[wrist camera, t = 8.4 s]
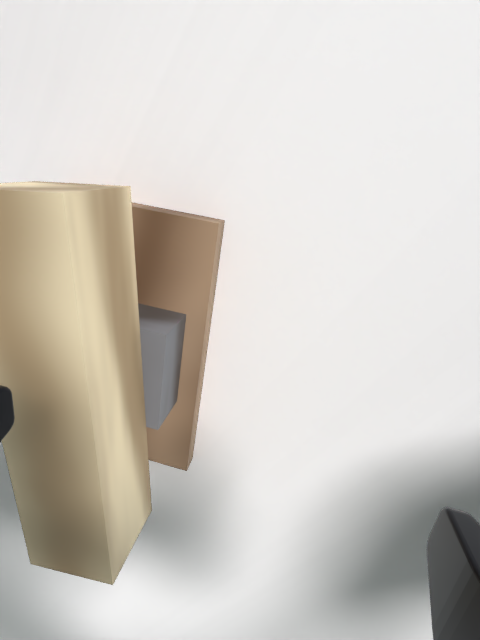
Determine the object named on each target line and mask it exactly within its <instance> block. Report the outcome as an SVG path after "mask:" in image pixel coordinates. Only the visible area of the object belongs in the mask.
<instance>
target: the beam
mask: <svg viewBox="0 0 480 640" xmlns="http://www.w3.org/2000/svg"><path fill="white" fill-rule="evenodd" d="M0 385H2V386H6V387H8V388H10V390H11V392H12V397H13V406H14V415H15V420H14V424H13V426H12V428H11V429H10V431H9V432H8V433H7V435H6V436H5V437H4V438H3V439H2V444H3V449H4V453H5V457H6V461H7V466H8V470H9V474H10V478H11V483H12V487H13V491H14V495H15V499H16V504H17V508H18V512H19V516H20V521H21V525H22V529H23V533H24V538H25V542H26V546H27V550H28V555H29V559H30V563H31V564H33V565H37V566H41V567H45V568H49V569H53V570H57V571H60V572H64V573H68V574H72V575H76V576H80V577H84V578H88V579H92V580H96V581H100V582H103V583H107V584H111V585H113V584H114V582H115V580H116V578H117V576H118V574H119V572H120V570H121V568H122V566H123V564H124V563H125V561H126V559H127V557H128V555H129V553H130V551H131V549H132V547H133V545H134V543H135V541H136V539H137V538H138V536H139V534H140V532H141V530H142V528H143V526H144V524H145V522H146V520H147V518H148V516H149V515H150V513H151V511H152V507H151V492H150V477H149V462H148V446H147V431H146V416H145V401H144V386H143V371H142V355H141V340H140V325H139V310H138V295H137V279H136V264H135V249H134V234H133V219H132V204H131V188H130V186H115V185H96V184H77V183H57V182H38V181H32V182H13V183H0Z"/></svg>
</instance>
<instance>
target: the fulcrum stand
mask: <svg viewBox="0 0 480 640" xmlns="http://www.w3.org/2000/svg"><path fill="white" fill-rule="evenodd" d="M131 204H132V219H133V234H134V249H135V264H136V279H137V295H138V310H139V325H140V340H141V355H142V371H143V386H144V401H145V416H146V431H147V446H148V460H151V461H154V462H158V463H161V464H165V465H168V466H172V467H175V468H178V469H182V470H185V471H187V469H188V467H189V465H190V463H191V461H192V457H193V450H194V443H195V435H196V428H197V421H198V413H199V406H200V399H201V391H202V384H203V376H204V369H205V362H206V354H207V347H208V340H209V332H210V325H211V318H212V310H213V303H214V295H215V288H216V281H217V273H218V266H219V259H220V251H221V244H222V237H223V229H224V222H225V220H220V219H215V218H209V217H204V216H199V215H194V214H189V213H184V212H178V211H173V210H168V209H163V208H158V207H153V206H148V205H142V204H137V203H132V202H131Z"/></svg>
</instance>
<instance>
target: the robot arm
mask: <svg viewBox="0 0 480 640" xmlns="http://www.w3.org/2000/svg"><path fill="white" fill-rule="evenodd" d="M14 420H15V415H14V406H13V397H12V392H11V390H10V388H8V387H6V386H2V385H0V442H1V441H2V439H3V438H4V437H5V436H6V435H7V433H8V432H9V431H10V429H11V428H12V426H13V424H14ZM427 562H428V576H429V589H430V603H431V616H432V629H433V640H480V524H479V523H478V522H477V521H476V520H475V519H474V518H473V517H472V516H471V515H470V514H469V513H467V512H465V511H461V510H457V509H454V508H450V507H444V508H443V509H442V510H441V511H440V513H439V515H438V517H437V519H436V522H435V524H434V526H433V528H432V531H431V533H430V535H429V538H428V541H427Z"/></svg>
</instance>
